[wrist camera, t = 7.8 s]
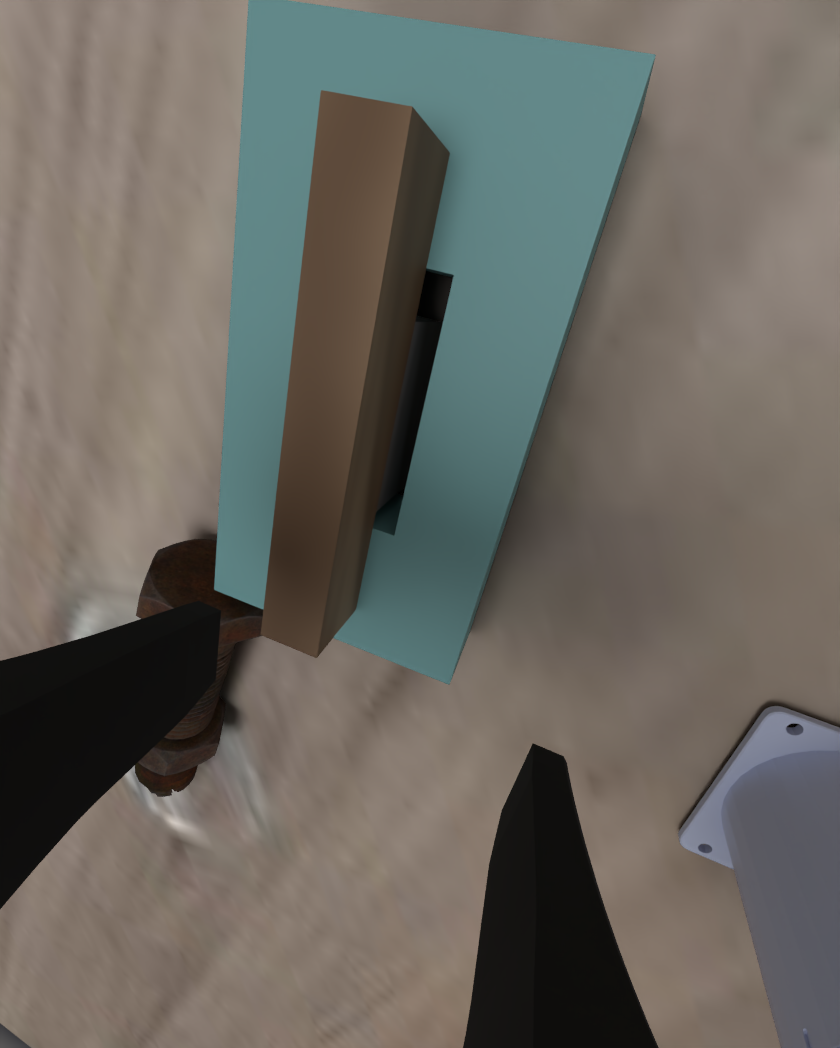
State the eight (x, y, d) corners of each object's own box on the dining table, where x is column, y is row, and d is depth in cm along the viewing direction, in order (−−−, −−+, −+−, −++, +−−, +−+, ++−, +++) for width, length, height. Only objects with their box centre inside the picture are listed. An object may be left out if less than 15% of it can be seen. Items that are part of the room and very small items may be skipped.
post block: (640, 114, 14) (655, 54, 11) (469, 632, 21) (449, 684, 18) (316, 59, 16) (248, -6, 13) (264, 554, 23) (214, 589, 20)
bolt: (200, 717, 32) (254, 532, 25) (232, 787, 29) (303, 603, 22) (94, 754, 28) (121, 546, 21) (120, 840, 25) (162, 635, 18)
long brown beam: (474, 182, 15) (412, 106, 10) (385, 573, 21) (316, 657, 16) (412, 169, 16) (320, 90, 10) (342, 557, 21) (260, 634, 16)
